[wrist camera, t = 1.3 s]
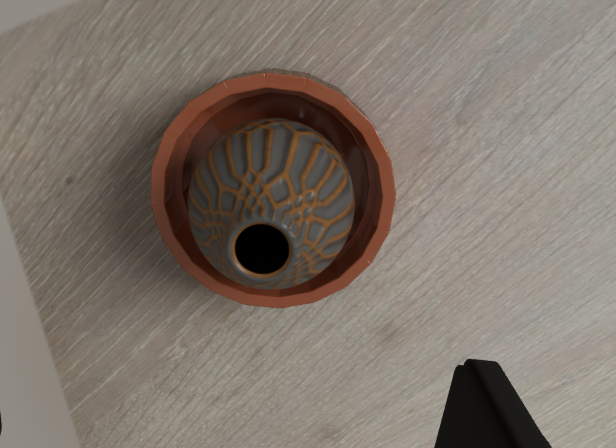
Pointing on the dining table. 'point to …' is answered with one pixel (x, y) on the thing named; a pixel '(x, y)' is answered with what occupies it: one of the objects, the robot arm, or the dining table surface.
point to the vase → (271, 203)
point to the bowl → (287, 105)
